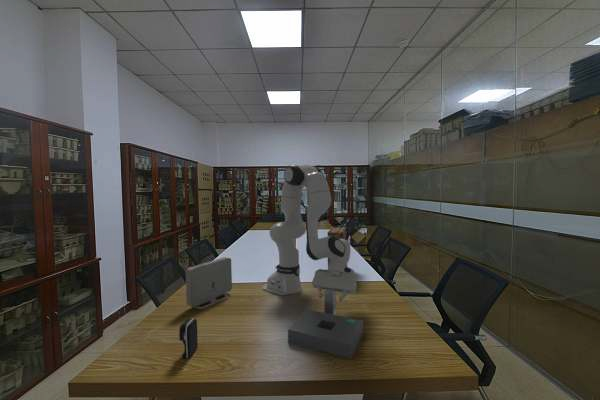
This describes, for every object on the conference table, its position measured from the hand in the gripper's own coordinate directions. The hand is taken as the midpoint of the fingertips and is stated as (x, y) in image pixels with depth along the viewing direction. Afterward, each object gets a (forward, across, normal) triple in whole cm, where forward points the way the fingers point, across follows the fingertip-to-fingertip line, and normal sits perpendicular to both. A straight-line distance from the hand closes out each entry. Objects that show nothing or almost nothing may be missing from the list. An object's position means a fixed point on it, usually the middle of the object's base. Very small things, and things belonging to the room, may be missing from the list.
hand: (330, 299), depth 120 cm
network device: (+11, -62, 0) cm, 63 cm away
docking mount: (+17, +4, -5) cm, 18 cm away
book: (-35, -15, +47) cm, 61 cm away
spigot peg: (+6, 0, +6) cm, 8 cm away
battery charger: (+38, -37, -26) cm, 59 cm away
